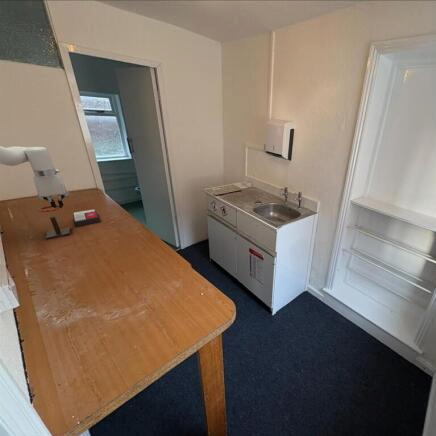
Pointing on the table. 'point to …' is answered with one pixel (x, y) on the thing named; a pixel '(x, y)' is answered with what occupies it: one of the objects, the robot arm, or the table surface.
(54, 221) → the post
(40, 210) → the orange ring
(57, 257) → the table surface
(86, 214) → the calculator
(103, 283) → the table surface
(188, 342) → the table surface
